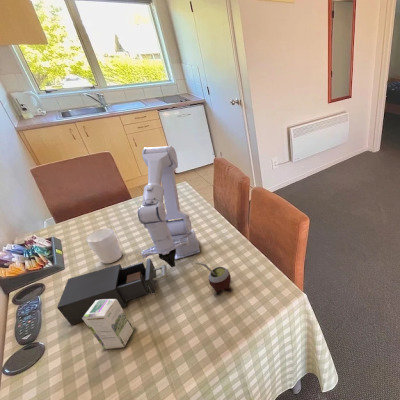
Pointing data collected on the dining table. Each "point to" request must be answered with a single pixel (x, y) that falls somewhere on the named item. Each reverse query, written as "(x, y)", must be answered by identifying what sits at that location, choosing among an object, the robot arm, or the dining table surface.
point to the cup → (104, 245)
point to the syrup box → (108, 323)
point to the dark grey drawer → (137, 286)
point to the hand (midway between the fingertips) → (173, 265)
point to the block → (134, 277)
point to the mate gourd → (218, 278)
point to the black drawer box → (89, 292)
